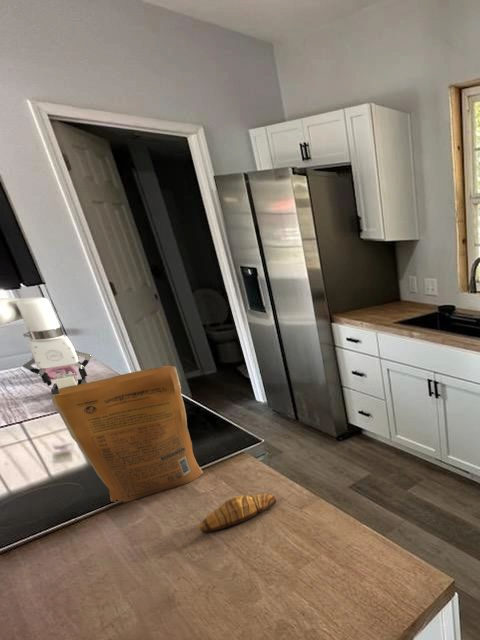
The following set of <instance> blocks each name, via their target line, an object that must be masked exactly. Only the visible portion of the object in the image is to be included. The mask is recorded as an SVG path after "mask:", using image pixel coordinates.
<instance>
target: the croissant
mask: <svg viewBox="0 0 480 640" xmlns="http://www.w3.org/2000/svg"><path fill="white" fill-rule="evenodd" d="M276 503H277V497H276V496H275V495H274V494H269V493H259V494H250V495H246V494H241V495H237V496H233V497H231V498H229V499H228V500H226V501H224V502H223V504H222V505H221V506H219V507H218V508H216V509H215V510H214V511H212V512H211V513H209V515H207V516H206V517H205V518H204V519H203V520H202V522H200V523H199V531H201V532H202V534H205V533H212V532H215V531H216V532H217V531H220V530H224V529H226V528H229V527H231V526H235V525H238V524H241V523H244V522H246V521H248V520H250V519H251V518H253V517H255V516H257V515H259V514H261V513H263V512H265V511H266V510H268V509H270V508H271V507H272V506H274V505H275V504H276Z"/></svg>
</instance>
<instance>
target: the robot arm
mask: <svg viewBox="0 0 480 640" xmlns="http://www.w3.org/2000/svg"><path fill="white" fill-rule="evenodd" d="M20 320H23V322H24V324H25V326H26V329H27V332H25V333H22V335H23V338H29V337H30V338H31V339H32V340H29V341H28V343H29V348H30V351H31V354H32V358H31V359H29V360H28V361H26V362H25V363H24V364H22V367H23V369H26V370H27V371H30V372H31V373H34V374H36V375H38V376H40V375H41V376H40V377H42V378H41V379H42V382H43V384H46V385H47V387H49V386H52V384H53V383H52V380H51V378H50V377H49V375H48V373H46V372H45V370H46V369H48V368H55V367H62V366H68V365H72V366H74V367H77V368H78V370H77V371H78V374H79V375H80V377H81V378H80V379H82V380H85V379H86V380H87V377H88V374H87V370H86V368H85V367H86V366H88V364H89V362H90V361H91V358H92V355H91V354H90V353H89V354H88V353H85V352H81V351H78V350H76V348H75V347H74V344H73V343H72V341H71V340H70V339H69V337H68V336H67V334H66V335H65V334H64V332H63V330H62V327H61V325H60V322H59V321H58V318H57V315H56V313H55V311H54V309H53V307H52V304H51V302H50V300H49V299H48V298H46V297H44V296H34V297H25V298H19V297H18V298H16V297H2V298H0V326H2V325H6V324H9V323H13V322H17V321H20ZM80 357H82V358H84V359H83V361H82V362H81V361H79V360H80ZM34 363H35V365H36V367H37V368H36V367H34V366H32V365H33V364H34ZM39 369H40V370H39Z"/></svg>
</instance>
